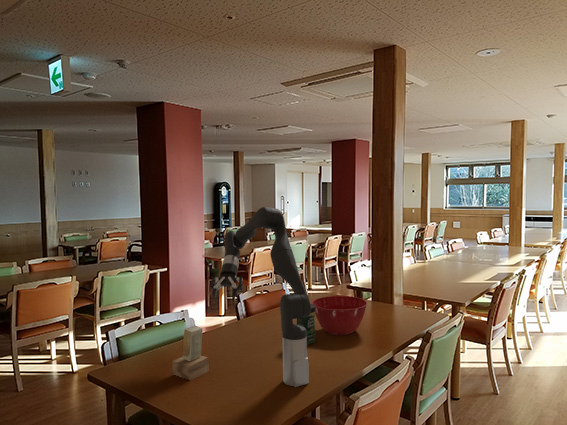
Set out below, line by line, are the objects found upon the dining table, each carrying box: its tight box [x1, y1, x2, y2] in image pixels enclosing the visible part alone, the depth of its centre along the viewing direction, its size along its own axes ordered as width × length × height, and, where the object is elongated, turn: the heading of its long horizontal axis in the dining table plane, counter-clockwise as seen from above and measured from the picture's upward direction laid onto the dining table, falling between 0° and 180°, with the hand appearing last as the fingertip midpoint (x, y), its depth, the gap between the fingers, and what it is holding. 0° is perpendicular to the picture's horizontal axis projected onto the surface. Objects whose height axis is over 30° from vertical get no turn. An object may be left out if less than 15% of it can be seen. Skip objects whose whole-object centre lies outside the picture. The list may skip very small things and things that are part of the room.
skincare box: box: [182, 325, 203, 361], centre depth 169 cm, size 6×4×12 cm
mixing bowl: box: [311, 295, 368, 336], centre depth 218 cm, size 28×28×16 cm
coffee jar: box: [296, 303, 317, 346], centre depth 202 cm, size 10×8×19 cm
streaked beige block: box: [171, 355, 210, 381], centre depth 170 cm, size 10×10×6 cm
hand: (224, 297), depth 184 cm, fingers open, 8 cm apart
